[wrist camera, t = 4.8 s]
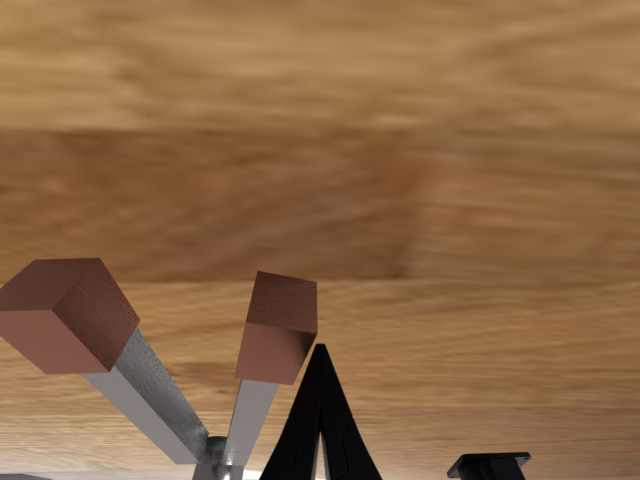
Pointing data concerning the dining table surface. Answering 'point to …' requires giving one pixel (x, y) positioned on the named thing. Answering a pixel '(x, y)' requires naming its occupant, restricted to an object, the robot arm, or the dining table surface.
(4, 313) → the tongs fixed
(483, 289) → the dining table surface
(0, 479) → the flask
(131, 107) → the dining table surface
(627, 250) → the dining table surface
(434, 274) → the dining table surface
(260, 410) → the tong arm
